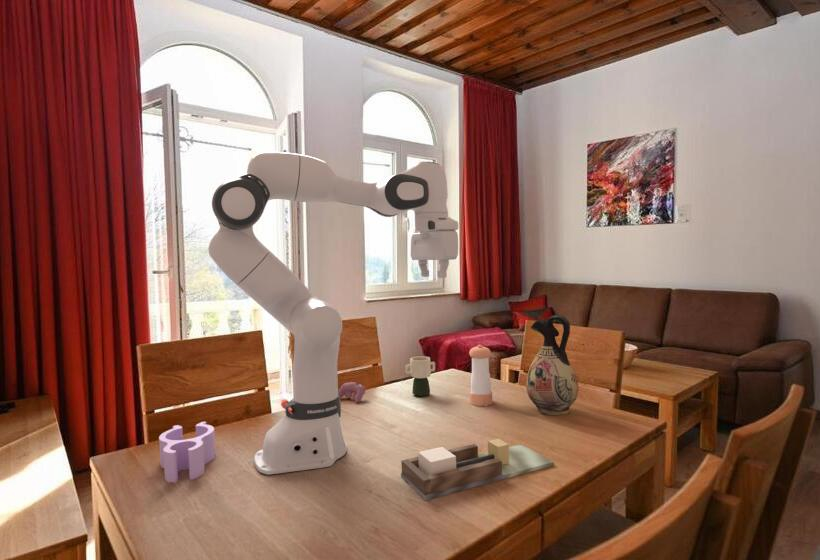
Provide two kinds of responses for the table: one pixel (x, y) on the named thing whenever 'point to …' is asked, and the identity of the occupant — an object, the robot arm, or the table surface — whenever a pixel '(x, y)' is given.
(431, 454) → the block plunger with rod
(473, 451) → the shelf lane
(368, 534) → the table surface
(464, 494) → the table surface
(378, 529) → the table surface
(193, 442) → the clip
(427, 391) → the cream green tall piece
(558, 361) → the ceramic jug
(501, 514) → the table surface
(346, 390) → the video game controller
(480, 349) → the pepper shaker
